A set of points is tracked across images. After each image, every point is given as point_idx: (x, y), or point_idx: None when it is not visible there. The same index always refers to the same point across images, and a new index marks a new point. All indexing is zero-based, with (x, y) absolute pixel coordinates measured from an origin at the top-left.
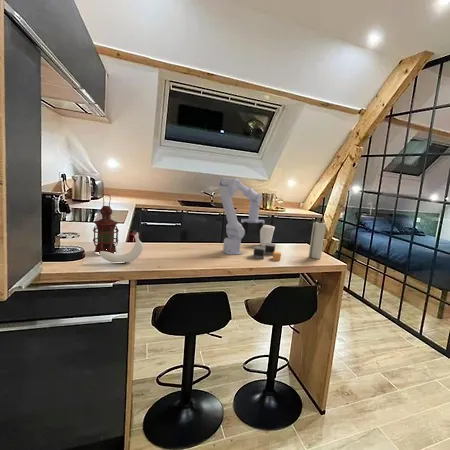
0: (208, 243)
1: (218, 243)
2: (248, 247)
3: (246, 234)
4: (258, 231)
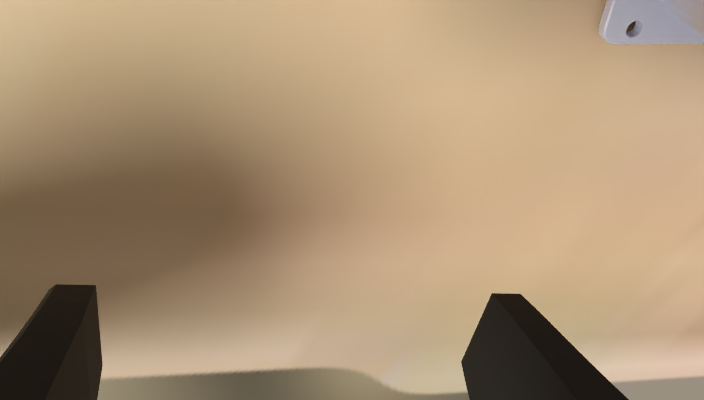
0: (688, 361)
1: None
2: (239, 211)
3: (509, 296)
4: (44, 389)
